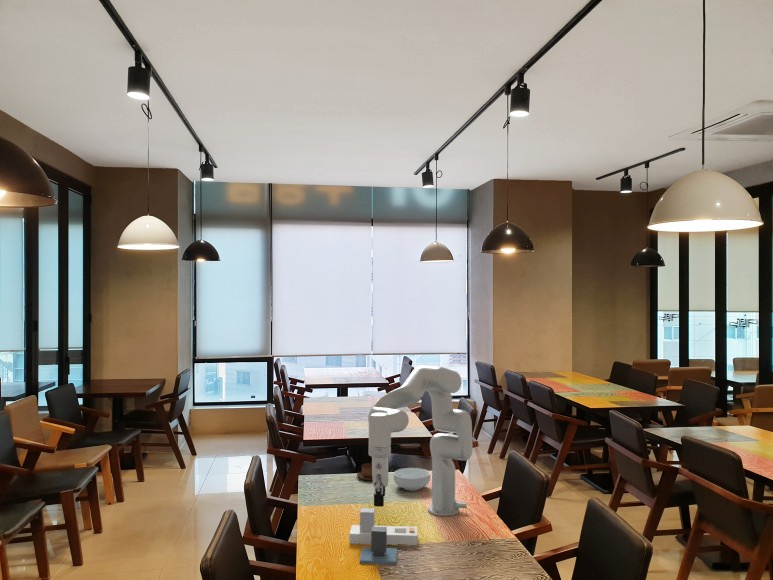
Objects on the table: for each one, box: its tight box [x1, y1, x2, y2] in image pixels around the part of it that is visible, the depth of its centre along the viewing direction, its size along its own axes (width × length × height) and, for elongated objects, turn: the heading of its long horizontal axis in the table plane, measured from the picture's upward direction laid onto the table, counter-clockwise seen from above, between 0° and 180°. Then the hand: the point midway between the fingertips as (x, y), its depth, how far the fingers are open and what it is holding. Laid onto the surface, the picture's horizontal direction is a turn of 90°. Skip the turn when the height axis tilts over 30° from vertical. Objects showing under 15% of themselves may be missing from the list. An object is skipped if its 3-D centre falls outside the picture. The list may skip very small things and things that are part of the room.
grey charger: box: [359, 507, 376, 532], centre depth 211 cm, size 5×4×8 cm
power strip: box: [349, 524, 418, 546], centre depth 210 cm, size 24×8×4 cm, turn 87°
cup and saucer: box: [356, 462, 373, 481], centre depth 282 cm, size 12×12×6 cm
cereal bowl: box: [393, 467, 431, 492], centre depth 268 cm, size 17×17×7 cm
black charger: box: [370, 527, 388, 557], centre depth 196 cm, size 5×4×8 cm
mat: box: [359, 546, 398, 565], centre depth 196 cm, size 12×10×1 cm
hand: (379, 500), depth 197 cm, fingers open, 9 cm apart
